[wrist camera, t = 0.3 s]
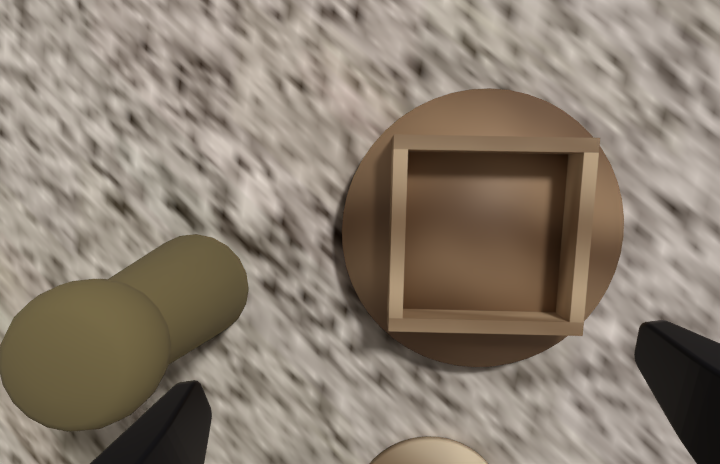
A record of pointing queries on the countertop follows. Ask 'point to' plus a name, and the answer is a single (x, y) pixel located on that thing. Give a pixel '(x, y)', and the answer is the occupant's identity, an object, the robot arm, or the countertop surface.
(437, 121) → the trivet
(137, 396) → the pepper shaker
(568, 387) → the countertop surface
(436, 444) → the cork coaster
